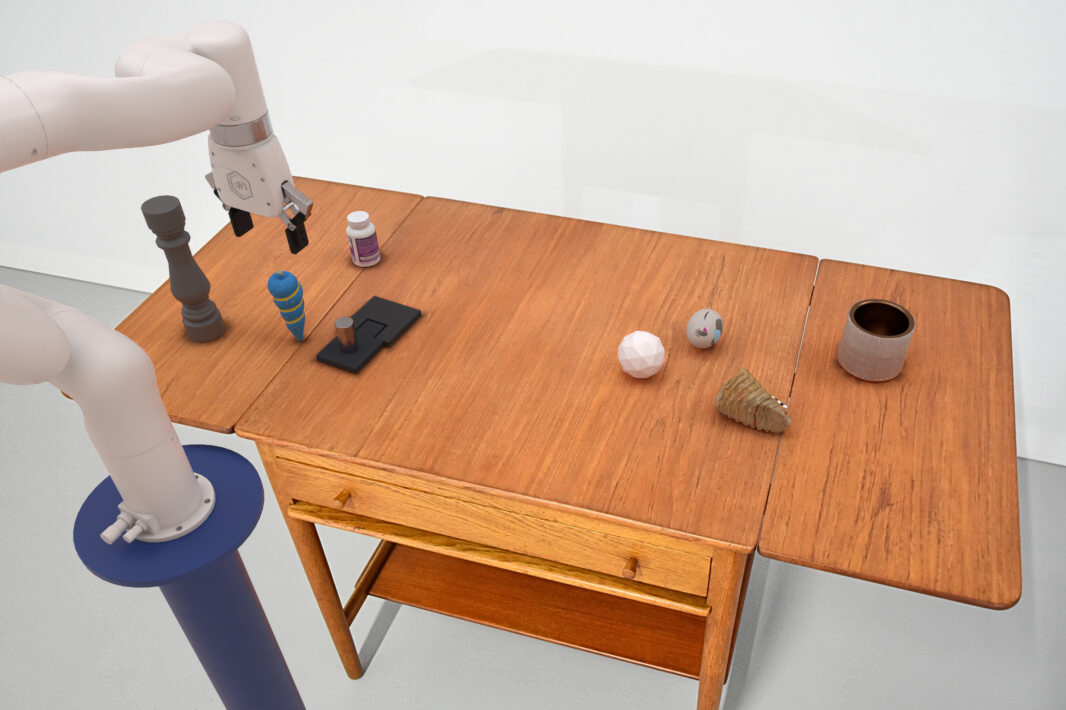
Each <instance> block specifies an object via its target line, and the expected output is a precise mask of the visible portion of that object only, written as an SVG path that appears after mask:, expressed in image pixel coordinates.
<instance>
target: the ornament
mask: <svg viewBox="0 0 1066 710" xmlns="http://www.w3.org/2000/svg"><path fill="white" fill-rule="evenodd" d="M267 290H268V292H269V293H270V295H271V296H272V301H273V304H274V305H275V306H276V307H277V308H278V309H279V314H280V316H281V318H282V319H283V320H284V322H285V326H286V328H287V330H288V331H289V332H290V333H291V334H292V335H293V336H294V337H295V338H296V340H297V341H298V342H303V340H304V334H305V333H304V331H305V325H306V313H305V299H304V298H303V297H304V296H303V295H304V288H303V285H302V284H301V283H300V281H299V280H298V278H297V277H296V275H294V274H293V273H292V272H290V271H288V270H282V269H276V272H273V273H272V274H271V275H270V276H269V278H268V280H267Z"/></svg>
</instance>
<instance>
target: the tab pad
mask: <svg viewBox="0 0 1066 710" xmlns="http://www.w3.org/2000/svg"><path fill="white" fill-rule="evenodd" d="M350 317H351V316H342V317H338V318H337V319H336V320H335V322H334V327H335V331H336V336H334V338H333V339H331V341H329V343H327V344H326V345H325V346H324V347H323V348H322V349H321V350H320V351H319V352H317V353H316V354H315V358H316V361H317V362H320V363H323V364H325V365H328V366H331V367H334V368H337V369H340V370H343V371H346V372H348V373H352V374H355V375H357V374H358V373H359V372H361V370H363V368H364V367H365V366H366V365H367V364H368V363H370V361H372V359H374V357H375V356H376V355H377V354H379V352H381V350H383V348H384V347H385V346H384V342H383V341H381V340H378V339H375V338H376V337H377V336H378V335H379V334H380V333H381V332H382V331H383V330H384V329H385V326H384V325H381V324H378V323H375V322H372V321H368V320H367V321H366V322H365V323H364V324H363V325H362V326H361V327H360V328H359V329H358V330H357V331H355V327H354V322H353V320H352V319H351V318H350Z"/></svg>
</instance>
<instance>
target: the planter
mask: <svg viewBox="0 0 1066 710" xmlns="http://www.w3.org/2000/svg"><path fill="white" fill-rule="evenodd" d="M916 323H917V322H916V319H915V316H914V315H913V314H912V313H911V312H910V311H909V310H908V309H907V308H906V307H905V306H903V305H901V304H900V303H897V302H895V301H891V300H888V299H885V298H884V299H883V298H865V299H861V300H858V301H857V302H855V303H853V304H852V305H851V306H850V308H849V309H848V311H847V316H846V320H845V324H844V328H843V331H842V335H841V338H840V342H839V345H838V348H837V361H838V363H839V365H840V366H841V367H842V369H843V370H844V371H845V372H846V373H848V374H849V375H851V376H853V377H855V378H856V379H860V380H863V381H867V382H886V381H889V380H893V379H895V378H896V377H898V376H899V374H900V373H901V372H902V370H903V368H904V365H905V361H906V359H907V355H908V352H909V348H910V344H911V342H912V339H913V335H914V332H915V328H916ZM838 358H839V359H838ZM840 362H841V363H840ZM848 370H849V371H848ZM851 372H852V373H851ZM899 372H900V373H899ZM853 373H854V374H853ZM898 373H899V374H898ZM855 374H856V375H855ZM857 375H858V376H857ZM895 375H896V376H895ZM893 376H894V377H893ZM863 377H864V378H863ZM890 377H892V378H890ZM886 378H888V379H886ZM874 379H875V380H874ZM876 379H877V380H876ZM878 379H879V380H878ZM880 379H883V380H880Z"/></svg>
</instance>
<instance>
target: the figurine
mask: <svg viewBox="0 0 1066 710" xmlns="http://www.w3.org/2000/svg"><path fill="white" fill-rule="evenodd" d="M685 330H686V332H685V333H686V337H687V340H688V342H689V344H691V345H692V346H693V347H695V348H697V349H708V348H711V347H712V346H714V345H716V343H717V342H718V341H720V338H721V336H722V334H723V332H724V322H723V318H722V317H721V315H720V313H718V312H717V311H716V310H714V309H711V306H709V307H708V308H701V309H699V310H697V311H696V312H695V313H694V314H693V315H691V316H690V318H689V320H688V322H687V325H686V329H685Z"/></svg>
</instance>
